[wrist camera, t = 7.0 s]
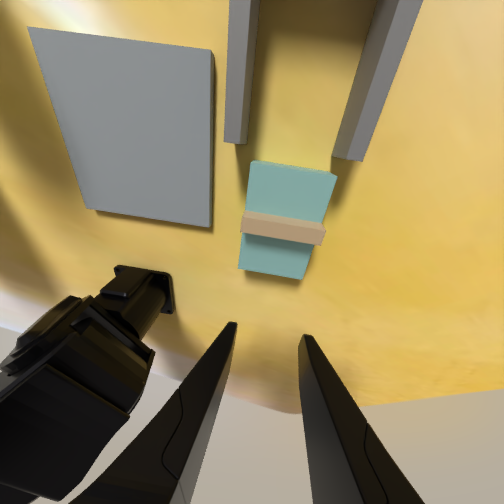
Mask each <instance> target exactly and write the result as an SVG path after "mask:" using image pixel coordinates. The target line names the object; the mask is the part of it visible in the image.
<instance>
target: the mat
mask: <svg viewBox="0 0 504 504" xmlns="http://www.w3.org/2000/svg"><path fill="white" fill-rule="evenodd" d="M27 28H28V31H29V35H30V38H31V41H32V44H33V47H34V50H35V53H36V56H37V59H38V62H39V65H40V68H41V71H42V74H43V77H44V80H45V84H46V87H47V90H48V93H49V96H50V99H51V102H52V105H53V108H54V111H55V114H56V117H57V120H58V123H59V126H60V129H61V132H62V136H63V139H64V142H65V145H66V148H67V151H68V154H69V157H70V160H71V163H72V166H73V169H74V172H75V175H76V178H77V181H78V185H79V188H80V191H81V194H82V197H83V200H84V203H85V206H86V208H87V209H94V210H100V211H107V212H113V213H119V214H126V215H132V216H139V217H145V218H151V219H158V220H164V221H171V222H177V223H183V224H190V225H196V226H203V227H210V226H211V225H212V164H213V98H214V54H213V53H212V51H211V50H208V49H200V48H192V47H184V46H176V45H169V44H161V43H153V42H145V41H137V40H129V39H122V38H114V37H106V36H98V35H90V34H83V33H75V32H67V31H59V30H51V29H43V28H36V27H28V26H27Z"/></svg>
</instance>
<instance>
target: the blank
mask: <svg viewBox="0 0 504 504" xmlns="http://www.w3.org/2000/svg"><path fill="white" fill-rule="evenodd" d="M337 177H338V176H336V175H334V174H332V173H330V172H328V171H322V170H316V169H309V168H303V167H297V166H291V165H284V164H278V163H272V162H266V161H259V160H253V161H252V162H251V164H250V173H249V181H248V189H247V198H246V206H245V211H244V214H243V216H242V222H241V230H240V232H242V239H241V248H240V256H239V264H238V269H243V270H249V271H255V272H261V273H266V274H272V275H278V276H283V277H289V278H295V279H301V280H302V279H303V276H304V273H305V270H306V267H307V264H308V262H309V259H310V256H311V253H312V250H313V247H314V245H320V246H321V244H322V241H323V238H324V235H325V233H326V230H325V228H324V226H323V224H322V221H323V218H324V215H325V212H326V209H327V206H328V203H329V200H330V197H331V195H332V192H333V189H334V186H335V183H336V180H337Z"/></svg>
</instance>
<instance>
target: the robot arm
mask: <svg viewBox="0 0 504 504" xmlns="http://www.w3.org/2000/svg"><path fill="white" fill-rule="evenodd" d="M114 272H115V275H116V277H115V278H114V279H113V280H112V281H110V282H109V283H108V284H107V285H106V286H104V287H103V288H102V289H101V290H100V294H98V295H97V296H96V297H95V298H93V297H92V296H91V295H89V296H87V297H84V298H82V299H81V298H80V297H79V298H78V297H75V296H71V295H70V296H68V297H66V298H65V299H64V300H62V301H61V302H60V303H58V304H57V305H55V306H54V307H53V308H51V309H50V310H49V311H48V312H46V313H45V314H44V315H43V316H42V317H40V318H39V319H38V320H37V321H36V322H35V323H34V324H33V325H31V326H30V327H29V328H28V329H27V330H26V331H25V332H24V333H23V334H22V335H21V336H19V337H18V339H17V343H16V347H15V348H14V349H13V350H12V352H11V353H10V354H9V355H8V356H7V357H6V358H5V359H4V360H3V361H2V363H1V364H0V370H1V371H2V372H1V373H0V504H30V503H32V502H33V501H35V500H36V499H37V498H39V497H40V496H41V497H44V498H47V499H50V500H53V501H57V502H58V501H60V500H62V499H63V498H64V497H65V496H66V495H68V494H69V493H70V492H71V491H72V490H73V489H74V488H75V487H76V486H77V485H78V484H79V483H80V482H81V481H82V480H83V478H84V477H85V475H86V474H87V472H88V471H89V469H90V468H91V466H92V465H93V463H94V462H95V460H96V459H97V457H98V456H99V454H100V453H101V451H102V450H103V448H104V447H105V446H106V444H107V443H108V442H109V441H110V439H111V438H112V437H113V436H114V435H115V433H116V432H117V431H118V430H119V429H120V428H121V427H122V426H123V425H124V424H125V423H126V422H127V421H128V420H129V418H130V415H129V414H130V413H131V412H132V410H133V409H134V408H135V406H136V405H137V403H138V402H139V400H140V398H141V396H142V394H143V391H144V387H145V385H146V381H147V378H148V375H149V372H150V369H151V366H152V362H153V359H154V356H155V353H156V352H155V351H154V350H153V349H150V348H149V347H148V346H146V345H145V344H144V343H143V342H142V341H141V340H142V339H143V337H144V336H145V334H146V333H147V331H148V330H149V328H150V327H151V325H152V324H153V322H154V321H155V319H156V318H157V316H158V315H159V314H160V313H166V314H172V313H173V312H174V304H173V295H172V287H171V279H170V275H169V274H168V273H166V272H160V271H154V270H148V269H142V268H135V267H129V266H123V265H117V266H115V267H114ZM164 276H165V277H164ZM236 333H237V323H236V322H228V323H227V325H226V326H225V327H224V329H223V330H222V331H221V333H220V334H219V335H218V336H217V338H216V339H215V340H214V342H213V343H212V344H211V346H210V347H209V348H208V349H207V351H206V352H205V353H204V355H203V356H202V357H201V359H200V360H199V361H198V362H197V364H196V365H195V366H194V368H193V369H192V370H191V372H190V373H189V374H188V375H187V377H186V378H185V379H184V381H183V382H182V383H181V385H180V386H179V389H177V390H176V391H175V392H174V394H173V395H172V396H171V398H170V399H169V400H168V401H167V402H166V404H165V405H164V406H163V407H162V409H161V410H160V411H159V412H158V413H157V415H156V416H155V417H154V418H153V419H152V420H151V421H150V422H149V424H148V425H147V426H146V427H145V428H144V429H143V430H142V431H141V432H140V433H139V434H138V436H137V437H136V438H135V439H134V440H133V441H132V442H131V443H130V444H129V445H128V446H127V447H126V449H125V450H124V451H123V452H122V453H121V454H120V455H119V456H118V457H117V458H116V459H115V460H114V462H113V463H112V464H111V465H110V466H109V467H108V468H107V469H106V470H105V471H104V472H103V473H102V474H101V475H100V476H99V477H98V478H97V479H96V480H95V481H94V482H93V483H92V484H91V485H90V486H89V487H88V488H87V489H85V490H84V491H83V492H82V493H81V494H80V495H78V496H77V497H76V498H75V499H73V500H72V501H71V502H70V503H68V504H190V502H191V498H192V495H193V492H194V489H195V485H196V482H197V478H198V475H199V472H200V468H201V465H202V462H203V459H204V455H205V452H206V449H207V445H208V442H209V438H210V435H211V432H212V428H213V425H214V422H215V419H216V415H217V412H218V408H219V405H220V402H221V398H222V395H223V392H224V389H225V385H226V382H227V379H228V375H229V371H230V366H231V361H232V356H233V350H234V345H235V339H236ZM298 366H299V390H300V399H301V407H302V415H303V423H304V431H305V440H306V448H307V457H308V464H309V474H310V481H311V490H312V498H313V504H425V503H424V502H423V500H422V499H421V498H420V496H419V495H418V494H417V492H416V491H415V489H414V488H413V487H412V485H411V484H410V483H409V481H408V480H407V479H406V477H405V476H404V474H403V473H402V472H401V470H400V469H399V467H398V466H397V465H396V463H395V462H394V460H393V459H392V458H391V456H390V455H389V453H388V452H387V451H386V449H385V448H384V446H383V444H382V443H381V441H380V440H379V438H378V437H377V435H376V434H375V432H374V431H373V429H372V427H371V426H370V425H369V423H367V420H366V418H365V417H364V415H363V414H362V412H361V411H360V409H359V407H358V406H357V404H356V403H355V401H354V400H353V398H352V396H351V395H350V393H349V392H348V390H347V389H346V387H345V386H344V384H343V382H342V381H341V379H340V378H339V376H338V375H337V373H336V372H335V370H334V368H333V367H332V365H331V364H330V362H329V361H328V359H327V358H326V356H325V354H324V353H323V351H322V350H321V348H320V347H319V345H318V344H317V342H316V340H315V339H314V337H313V336H312V335H307V334H303V335H302V338H301V340H300V343H299V346H298Z"/></svg>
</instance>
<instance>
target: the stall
mask: <svg viewBox="0 0 504 504" xmlns="http://www.w3.org/2000/svg"><path fill="white" fill-rule="evenodd" d="M422 2H423V0H378V1H377V4H376V8H375V11H374V15H373V18H372V21H371V25H370V28H369V31H368V35H367V38H366V41H365V45H364V48H363V51H362V55H361V58H360V61H359V65H358V68H357V72H356V75H355V78H354V82H353V85H352V88H351V92H350V95H349V98H348V102H347V105H346V108H345V112H344V115H343V119H342V122H341V125H340V129H339V132H338V135H337V139H336V142H335V145H334V149H333V152H332V155H331V156H333V157H338V158H342V159H347V160H354V161H361V162H362V161H363V159H364V156H365V153H366V151H367V148H368V145H369V143H370V140H371V137H372V135H373V132H374V129H375V127H376V124H377V122H378V119H379V116H380V114H381V111H382V108H383V106H384V103H385V100H386V98H387V95H388V92H389V90H390V87H391V84H392V82H393V79H394V76H395V74H396V71H397V68H398V66H399V63H400V61H401V58H402V55H403V53H404V50H405V47H406V45H407V42H408V39H409V37H410V34H411V31H412V29H413V26H414V23H415V21H416V18H417V15H418V13H419V10H420V8H421V5H422ZM259 9H260V0H230V1H229V25H228V50H227V75H226V100H225V124H224V142H228V143H235V144H247V137H248V126H249V115H250V105H251V94H252V83H253V73H254V62H255V51H256V41H257V30H258V20H259Z"/></svg>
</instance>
